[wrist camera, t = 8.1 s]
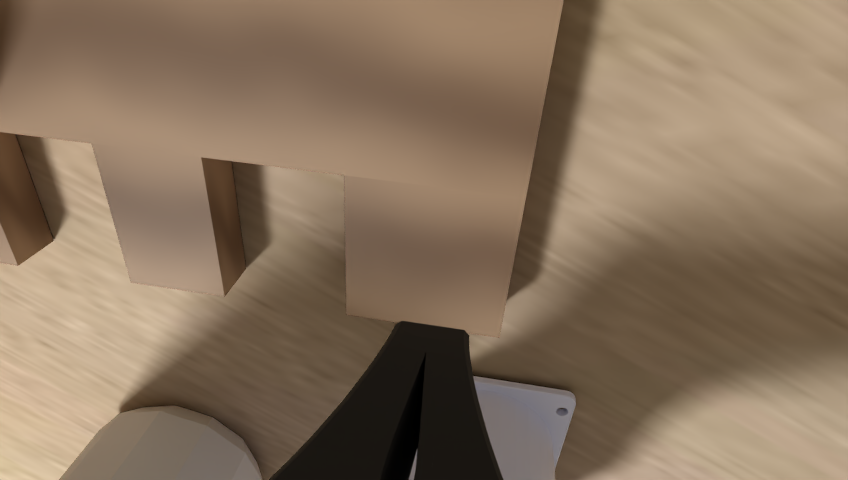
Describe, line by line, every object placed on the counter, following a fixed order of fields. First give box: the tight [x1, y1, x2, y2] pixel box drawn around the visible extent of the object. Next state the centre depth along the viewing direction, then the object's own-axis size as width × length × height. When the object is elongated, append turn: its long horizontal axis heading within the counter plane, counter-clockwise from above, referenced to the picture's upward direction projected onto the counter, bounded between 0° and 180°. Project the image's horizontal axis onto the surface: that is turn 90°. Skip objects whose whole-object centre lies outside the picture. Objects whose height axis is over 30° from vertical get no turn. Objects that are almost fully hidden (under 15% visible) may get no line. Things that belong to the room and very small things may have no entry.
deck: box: [0, 0, 564, 338], centre depth 18 cm, size 12×24×4 cm, turn 86°
